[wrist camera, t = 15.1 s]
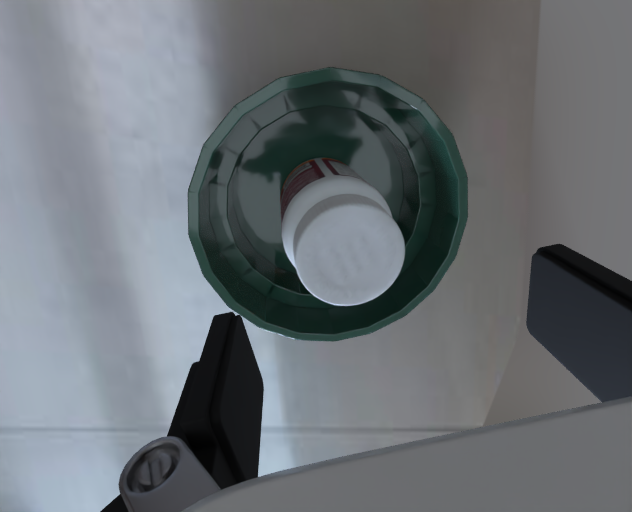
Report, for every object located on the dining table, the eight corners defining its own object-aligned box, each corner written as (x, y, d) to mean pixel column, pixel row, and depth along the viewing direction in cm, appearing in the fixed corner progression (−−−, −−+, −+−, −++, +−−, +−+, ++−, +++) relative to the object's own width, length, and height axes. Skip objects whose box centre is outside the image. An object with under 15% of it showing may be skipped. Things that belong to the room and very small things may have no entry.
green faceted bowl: (415, 56, 23) (467, 38, 17) (428, 267, 30) (468, 312, 24) (178, 105, 23) (140, 106, 17) (244, 308, 30) (235, 363, 23)
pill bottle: (284, 240, 27) (289, 324, 17) (275, 159, 25) (274, 199, 14) (362, 232, 28) (413, 309, 17) (361, 152, 25) (420, 186, 15)
